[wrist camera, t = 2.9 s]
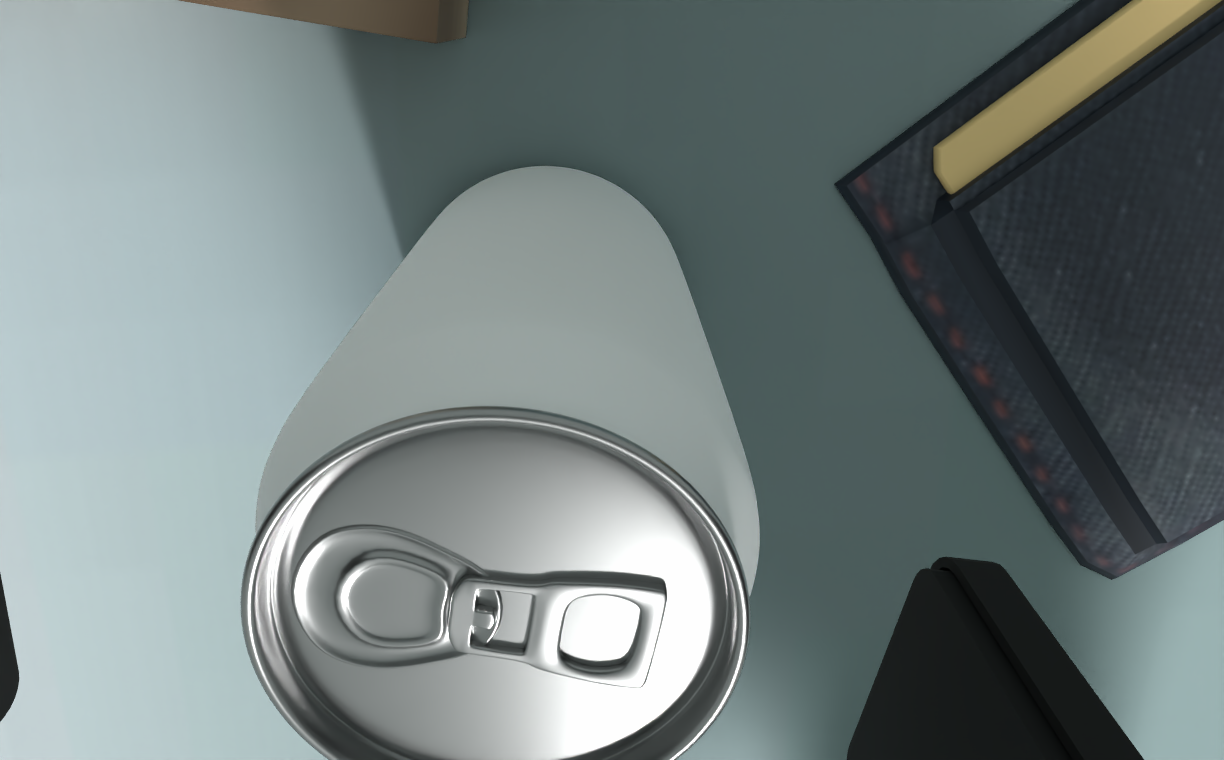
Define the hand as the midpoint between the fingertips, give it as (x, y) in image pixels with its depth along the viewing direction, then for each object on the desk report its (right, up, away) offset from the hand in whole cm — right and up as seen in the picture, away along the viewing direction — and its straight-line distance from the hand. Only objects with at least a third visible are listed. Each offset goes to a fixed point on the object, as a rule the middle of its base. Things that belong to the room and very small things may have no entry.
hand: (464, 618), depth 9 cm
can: (0, +5, +12) cm, 13 cm away
